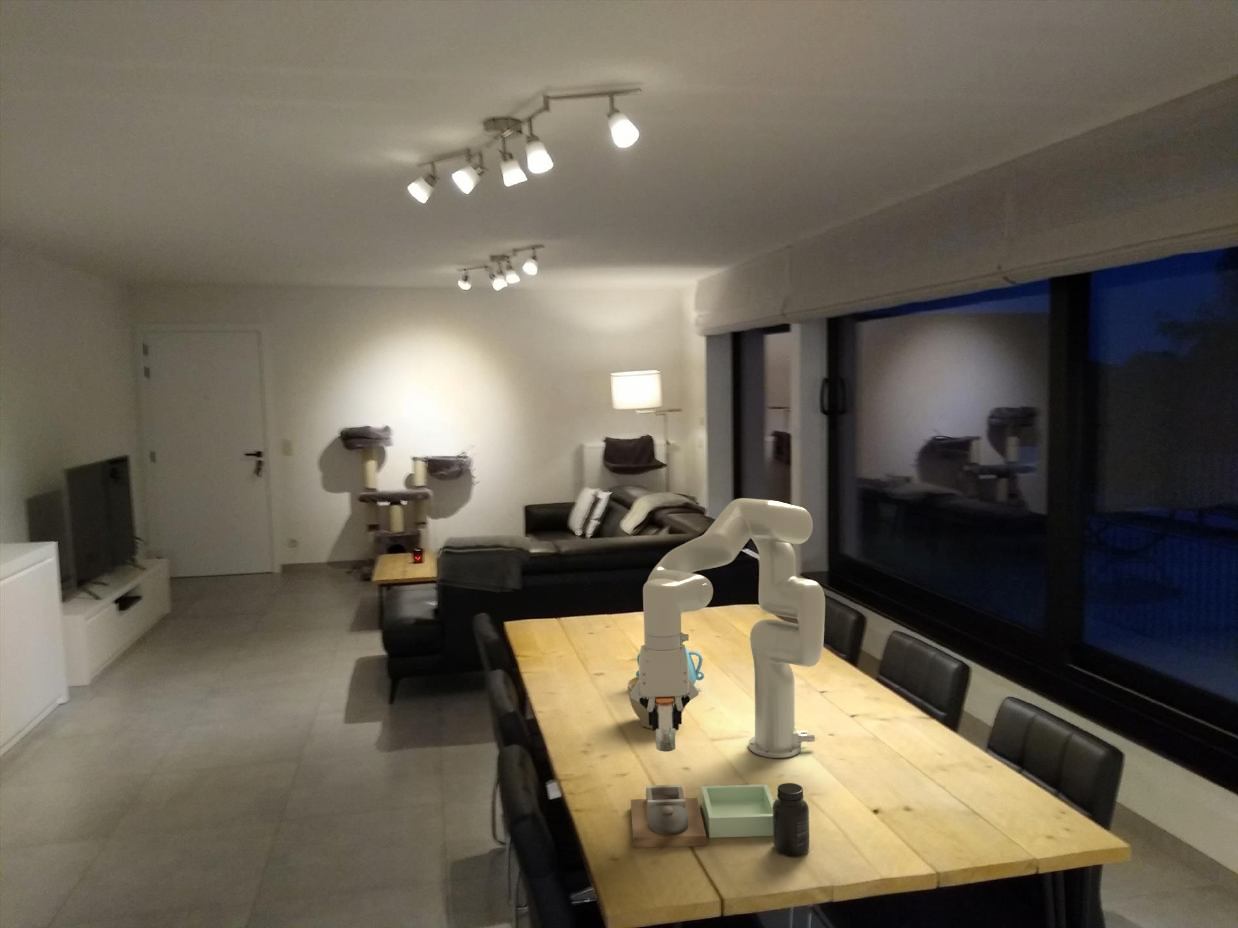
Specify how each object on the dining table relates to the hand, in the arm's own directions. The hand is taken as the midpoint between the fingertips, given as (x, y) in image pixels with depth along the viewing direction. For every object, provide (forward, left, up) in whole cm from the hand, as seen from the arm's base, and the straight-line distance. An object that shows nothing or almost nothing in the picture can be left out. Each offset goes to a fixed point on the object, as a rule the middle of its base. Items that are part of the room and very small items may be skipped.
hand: (665, 726), depth 183 cm
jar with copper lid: (0, 0, -4) cm, 4 cm away
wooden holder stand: (0, +4, -19) cm, 19 cm away
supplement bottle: (-23, +14, -19) cm, 33 cm away
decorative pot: (-7, -78, -19) cm, 80 cm away
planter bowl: (-2, -51, -19) cm, 54 cm away
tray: (-15, +2, -19) cm, 24 cm away
